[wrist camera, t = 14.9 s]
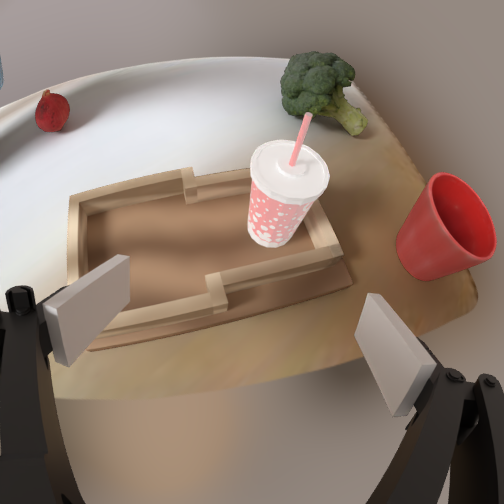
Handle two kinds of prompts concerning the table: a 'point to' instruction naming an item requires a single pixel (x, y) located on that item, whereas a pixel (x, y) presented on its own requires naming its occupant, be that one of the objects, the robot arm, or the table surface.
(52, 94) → the pomegranate
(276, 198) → the beverage cup
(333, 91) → the vegetable
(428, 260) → the flower pot
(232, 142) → the table surface
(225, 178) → the light brown wooden tray
